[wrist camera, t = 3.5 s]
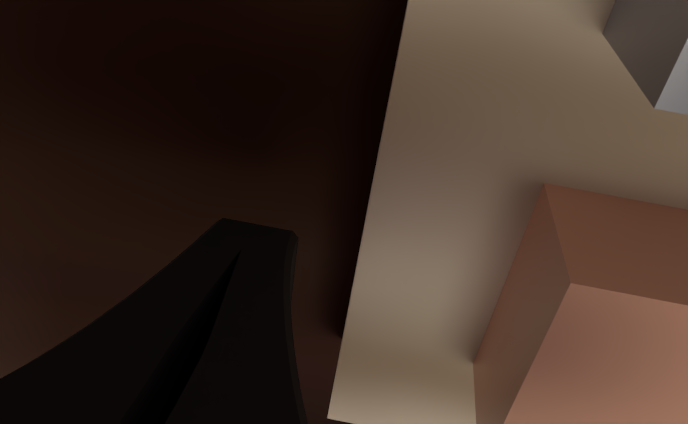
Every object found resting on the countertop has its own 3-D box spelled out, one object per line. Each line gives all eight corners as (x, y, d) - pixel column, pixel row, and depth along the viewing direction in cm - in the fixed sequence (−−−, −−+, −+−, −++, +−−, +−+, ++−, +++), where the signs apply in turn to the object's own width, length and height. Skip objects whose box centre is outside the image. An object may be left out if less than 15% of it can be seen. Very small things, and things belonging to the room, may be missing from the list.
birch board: (713, 413, 16) (753, 504, 14) (341, 340, 16) (327, 418, 14) (1426, -478, 7) (1873, -605, 5) (525, -607, 7) (559, -779, 5)
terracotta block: (690, 407, 12) (739, 528, 10) (472, 363, 12) (479, 475, 10) (820, 234, 10) (922, 350, 8) (543, 183, 10) (570, 283, 8)
